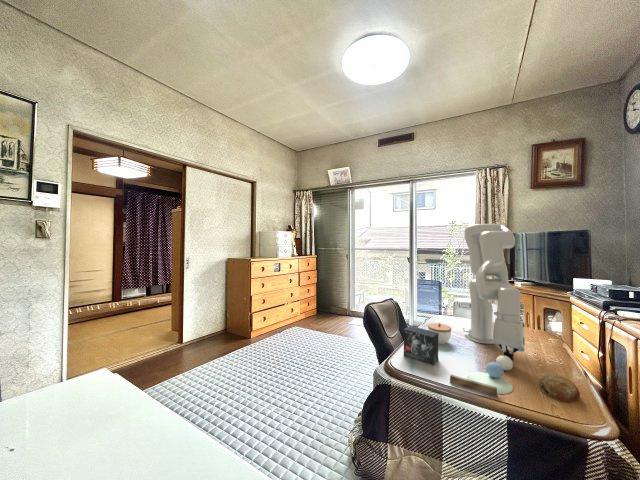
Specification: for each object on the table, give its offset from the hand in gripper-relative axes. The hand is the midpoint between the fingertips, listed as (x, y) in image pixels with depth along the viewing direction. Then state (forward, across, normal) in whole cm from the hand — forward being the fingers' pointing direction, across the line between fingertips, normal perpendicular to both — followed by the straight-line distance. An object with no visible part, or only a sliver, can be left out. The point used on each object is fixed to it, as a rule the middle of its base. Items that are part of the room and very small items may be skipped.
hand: (508, 361), depth 107 cm
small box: (+2, -26, -22) cm, 34 cm away
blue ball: (-1, 0, -15) cm, 15 cm away
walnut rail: (+2, -2, -30) cm, 30 cm away
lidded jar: (+2, -30, +2) cm, 30 cm away
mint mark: (+2, 0, -21) cm, 21 cm away
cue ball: (-1, 0, -6) cm, 6 cm away
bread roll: (+2, +17, -10) cm, 20 cm away
